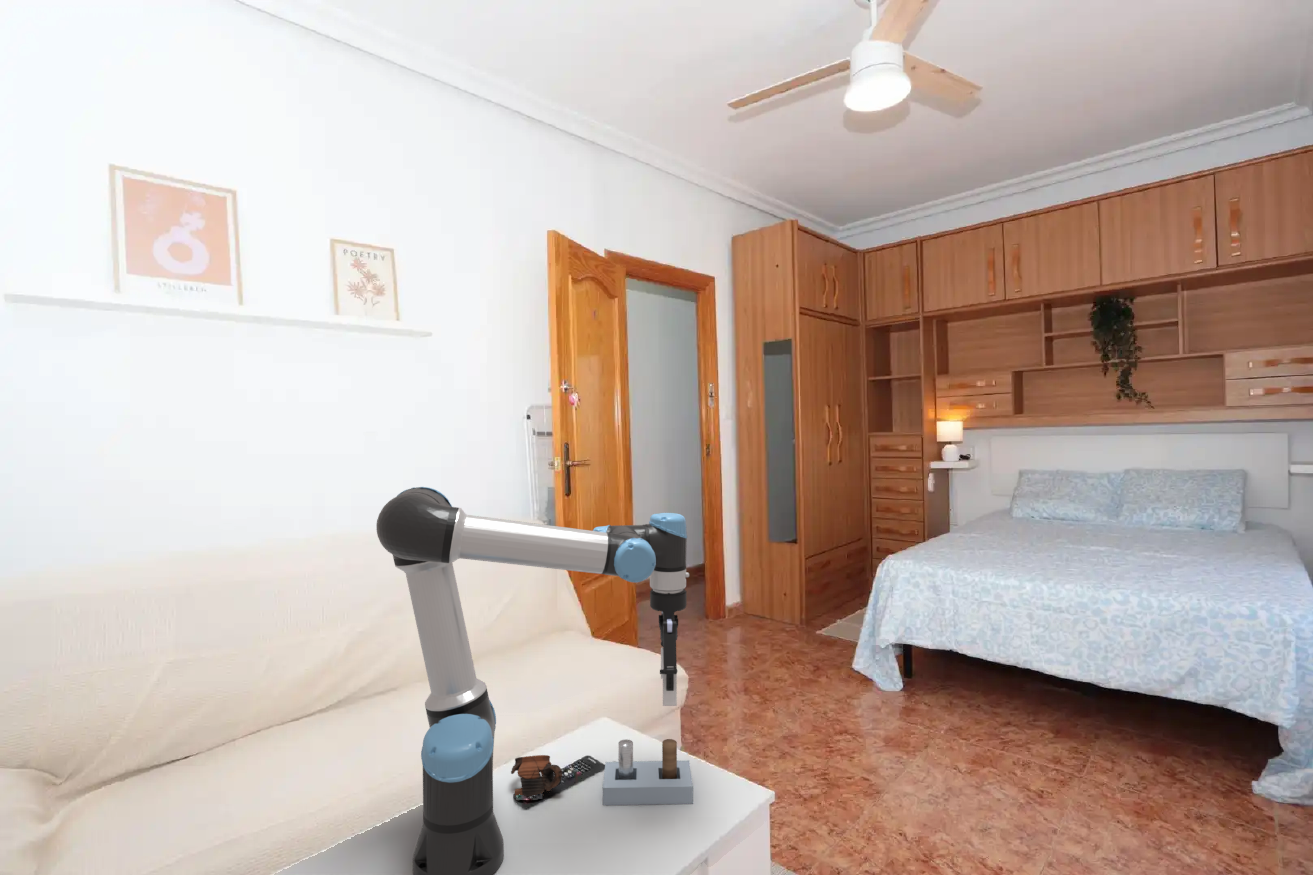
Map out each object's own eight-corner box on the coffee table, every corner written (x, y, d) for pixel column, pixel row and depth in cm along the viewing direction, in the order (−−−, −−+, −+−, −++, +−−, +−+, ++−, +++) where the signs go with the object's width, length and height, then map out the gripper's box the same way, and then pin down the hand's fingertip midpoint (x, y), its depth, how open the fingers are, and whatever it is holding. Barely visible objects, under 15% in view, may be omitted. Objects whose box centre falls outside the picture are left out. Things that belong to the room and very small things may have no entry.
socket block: (602, 805, 130) (602, 787, 130) (605, 777, 140) (605, 761, 140) (692, 803, 130) (692, 786, 130) (689, 776, 140) (689, 760, 140)
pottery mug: (500, 803, 131) (502, 758, 135) (526, 801, 139) (527, 758, 143) (552, 798, 128) (551, 752, 132) (575, 797, 135) (575, 753, 139)
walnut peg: (677, 793, 134) (677, 745, 133) (662, 794, 133) (662, 746, 133) (676, 785, 137) (676, 738, 136) (662, 786, 136) (661, 739, 136)
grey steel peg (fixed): (618, 794, 133) (618, 746, 133) (619, 786, 136) (618, 739, 136) (633, 794, 133) (632, 746, 133) (633, 786, 136) (633, 739, 136)
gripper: (690, 605, 122) (690, 717, 122) (682, 574, 147) (682, 667, 147) (650, 605, 122) (650, 718, 122) (649, 574, 147) (649, 668, 147)
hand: (668, 690), depth 135 cm, fingers open, 13 cm apart
